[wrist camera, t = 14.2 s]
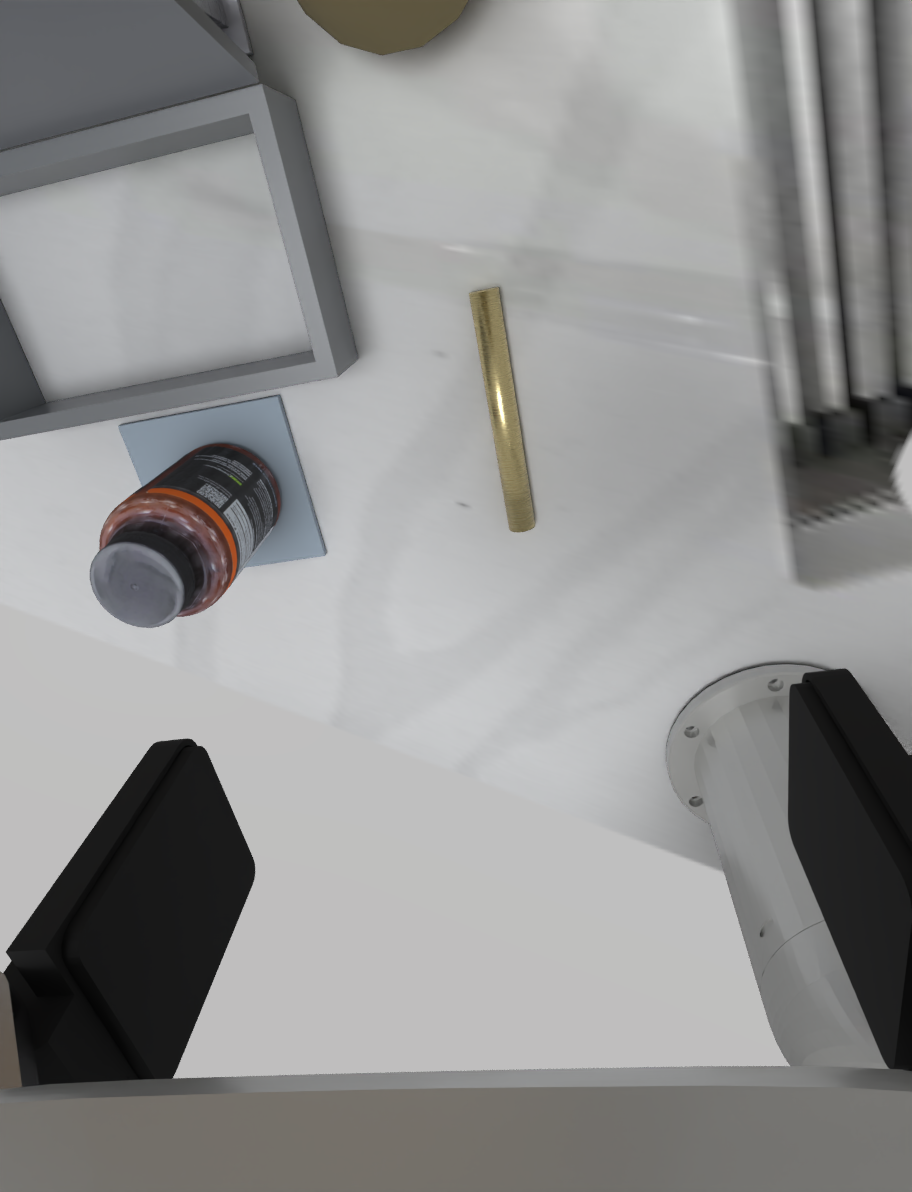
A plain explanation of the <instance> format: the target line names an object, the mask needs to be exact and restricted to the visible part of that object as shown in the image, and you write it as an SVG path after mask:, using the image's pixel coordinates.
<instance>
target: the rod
mask: <svg viewBox="0 0 912 1192" xmlns="http://www.w3.org/2000/svg"><path fill="white" fill-rule="evenodd" d="M469 297H470V303H471V308H472V314H473V320H474V326H475V332H476V338H477V343H478V349H479V355H480V361H481V367H482V372H483V378H484V384H485V390H486V396H487V401H488V407H489V413H490V419H491V425H492V431H493V436H494V442H495V448H496V454H497V460H498V465H499V471H500V477H501V483H502V489H503V494H504V500H505V506H506V512H507V518H508V523H509V529H510V531H512V532H524V531H528V530H531V529H532V528H534V527H535V520H534V514H533V507H532V501H531V494H530V488H529V481H528V475H527V468H526V462H525V455H524V449H523V443H522V436H521V430H520V423H519V417H518V410H517V404H516V397H515V391H514V384H513V378H512V371H511V365H510V359H509V352H508V346H507V339H506V333H505V326H504V320H503V313H502V307H501V300H500V294H499V287H495V288H490V289H485V290H480V291H475V292H471V293H469Z"/></svg>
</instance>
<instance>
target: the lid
mask: <svg viewBox="0 0 912 1192" xmlns="http://www.w3.org/2000/svg"><path fill="white" fill-rule="evenodd" d="M255 83H259V79H258V74H257V70H256V65H255V63H254V62H253V61H252V60H251V59H250V58H249V57H248V56H247V55H246V54H245V53H244V52H243V51H242V50H241V49H240V48H239V47H238V46H237V45H236V44H235V43H234V42H233V41H232V40H231V39H230V38H229V37H228V36H227V35H226V34H225V33H224V32H223V31H222V30H221V29H220V28H219V27H218V26H217V25H216V24H215V23H214V22H213V21H212V20H211V19H210V18H209V17H208V16H207V14H206V13H205V12H204V11H203V10H202V9H201V8H200V7H199V6H198V5H197V4H196V3H195V2H194V1H193V0H0V150H3V149H7V148H11V147H14V146H18V145H22V144H26V143H30V142H33V141H37V140H41V139H45V138H49V137H53V136H56V135H60V134H64V133H68V132H72V131H75V130H79V129H83V128H87V127H91V126H95V125H98V124H102V123H106V122H110V121H114V120H117V119H121V118H125V117H129V116H133V115H137V114H140V113H144V112H148V111H152V110H156V109H159V108H163V107H167V106H171V105H175V104H179V103H182V102H186V101H190V100H194V99H198V98H201V97H205V96H209V95H213V94H217V93H221V92H224V91H228V90H232V89H236V88H240V87H243V86H247V85H251V84H255Z"/></svg>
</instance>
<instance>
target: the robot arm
mask: <svg viewBox="0 0 912 1192" xmlns="http://www.w3.org/2000/svg"><path fill="white" fill-rule="evenodd" d="M666 763H667V768H668V773H669V777H670V780H671V783H672V786H673V789H674V791H675V793H676V794H677V796H678V797H679V799H680V800H681V802H682V803H683V804H684V805H685V806H686V807H687V808H688V809H689V810H690V811H691V812H692V813H693V814H694V815H695V816H697V817H699V818H700V819H702V820H703V821H705V822H706V823H708V824H710V826H711V830H712V833H713V836H714V840H715V843H716V846H717V850H718V853H719V857H720V860H721V863H722V867H723V870H724V873H725V877H726V880H727V884H728V887H729V890H730V894H731V897H732V900H733V904H734V907H735V910H736V914H737V917H738V921H739V924H740V927H741V931H742V934H743V937H744V941H745V944H746V947H747V951H748V954H749V957H750V961H751V964H752V968H753V971H754V974H755V978H756V981H757V985H758V988H759V991H760V995H761V998H762V1001H763V1005H764V1008H765V1011H766V1015H767V1017H768V1021H769V1024H770V1027H771V1029H772V1032H773V1035H774V1037H775V1040H776V1042H777V1044H778V1046H779V1048H780V1050H781V1052H782V1054H783V1055H784V1057H785V1058H786V1060H787V1062H788V1063H789V1065H790V1066H740V1067H739V1066H732V1067H731V1066H716V1067H715V1066H704V1067H703V1066H693V1067H642V1068H641V1067H640V1068H588V1069H587V1068H586V1069H585V1068H583V1069H533V1070H531V1069H528V1070H483V1071H482V1070H481V1071H441V1072H440V1071H439V1072H397V1073H395V1072H394V1073H356V1074H319V1075H318V1074H315V1075H279V1076H246V1077H214V1078H213V1077H212V1078H181V1079H180V1078H178V1079H172V1078H173V1076H174V1074H175V1072H176V1070H177V1068H178V1065H179V1062H180V1060H181V1057H182V1055H183V1053H184V1051H185V1048H186V1046H187V1043H188V1041H189V1038H190V1036H191V1033H192V1031H193V1029H194V1026H195V1023H196V1021H197V1019H198V1016H199V1014H200V1011H201V1009H202V1007H203V1004H204V1002H205V999H206V997H207V994H208V992H209V990H210V987H211V985H212V982H213V980H214V977H215V975H216V972H217V970H218V968H219V965H220V963H221V960H222V958H223V955H224V953H225V950H226V948H227V945H228V943H229V941H230V938H231V936H232V933H233V931H234V928H235V926H236V924H237V921H238V919H239V916H240V914H241V911H242V909H243V907H244V904H245V902H246V899H247V897H248V894H249V892H250V889H251V887H252V885H253V882H254V877H255V863H254V860H253V857H252V855H251V852H250V850H249V848H248V845H247V843H246V841H245V839H244V836H243V834H242V831H241V829H240V827H239V825H238V822H237V820H236V818H235V815H234V813H233V811H232V808H231V806H230V804H229V801H228V799H227V797H226V795H225V792H224V790H223V788H222V785H221V783H220V781H219V778H218V776H217V774H216V772H215V769H214V767H213V765H212V762H211V760H210V758H209V755H208V753H207V751H206V750H205V748H203V747H202V746H197V745H196V743H195V742H194V741H193V740H192V739H178V740H170V741H160V742H156V743H154V744H153V745H152V746H151V747H150V748H149V750H148V751H147V753H146V754H145V755H144V757H143V758H142V760H141V761H140V763H139V764H138V765H137V767H136V768H135V770H134V771H133V772H132V774H131V776H130V777H129V778H128V780H127V781H126V782H125V784H124V785H123V787H122V788H121V789H120V791H119V792H118V794H117V795H116V797H115V798H114V800H113V801H112V802H111V804H110V805H109V806H108V808H107V809H106V811H105V812H104V814H103V815H102V816H101V818H100V819H99V821H98V822H97V824H96V825H95V826H94V828H93V829H92V831H91V832H90V833H89V835H88V836H87V838H86V839H85V840H84V842H83V843H82V845H81V846H80V848H79V849H78V850H77V852H76V853H75V855H74V856H73V857H72V859H71V860H70V862H69V863H68V865H67V866H66V867H65V869H64V870H63V872H62V873H61V875H60V876H59V877H58V879H57V880H56V882H55V883H54V884H53V886H52V887H51V889H50V890H49V892H48V893H47V894H46V896H45V897H44V899H43V900H42V902H41V903H40V904H39V906H38V907H37V909H36V910H35V911H34V913H33V914H32V916H31V917H30V919H29V920H28V921H27V923H26V924H25V925H24V927H23V928H22V930H21V931H20V932H19V934H18V935H17V937H16V938H15V940H14V941H13V942H12V944H11V945H10V947H9V948H8V950H7V951H6V953H7V954H8V956H9V957H10V959H11V960H12V961H11V963H10V964H9V966H8V967H7V969H6V970H5V971H4V973H2V972H0V1192H912V755H908V754H907V753H906V751H905V750H904V748H903V747H902V745H901V744H900V743H899V741H898V740H897V738H896V737H895V735H894V734H893V732H892V731H891V730H890V728H889V727H888V725H887V724H886V722H885V721H884V720H883V718H882V717H881V715H880V714H879V712H878V711H877V710H876V708H875V707H874V705H873V704H872V702H871V701H870V700H869V698H868V697H867V695H866V694H865V692H864V691H863V690H862V688H861V687H860V685H859V684H858V682H857V681H856V680H855V678H854V677H853V675H852V674H851V673H850V672H849V671H848V670H847V669H835V670H823V669H819V668H815V667H811V666H804V665H793V664H781V665H767V666H762V667H757V668H753V669H748V670H744V671H741V672H739V673H736V674H734V675H731V676H728V677H726V678H724V679H722V680H720V681H718V682H717V683H715V684H713V685H711V686H710V687H708V688H706V689H705V690H704V691H703V692H701V693H700V694H699V695H698V696H697V697H695V698H694V699H693V700H692V701H691V702H690V703H689V704H688V705H687V706H686V708H685V709H684V710H683V711H682V712H681V713H680V715H679V716H678V718H677V720H676V722H675V724H674V725H673V727H672V729H671V732H670V735H669V738H668V742H667V746H666Z"/></svg>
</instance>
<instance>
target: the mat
mask: <svg viewBox="0 0 912 1192" xmlns="http://www.w3.org/2000/svg"><path fill="white" fill-rule="evenodd" d="M118 427H119V430H120V432H121V435H122V437H123V440H124V442H125V445H126V447H127V450H128V452H129V455H130V457H131V460H132V462H133V465H134V467H135V470H136V472H137V475H138V477H139V480H140V482H141V485H142V487H143V486H144V485H146V484H147V483H148V482H150V481H151V480H152V479H154V478H155V477H156V476H158V475H159V474H161V473H162V472H163V471H164V470H166V469H167V468H169V467H170V466H171V465H173V464H174V463H175V462H177V461H178V460H179V459H180V458H182V457H183V456H184V455H186V454H187V453H189V452H191V451H193V450H194V449H197V448H199V447H202V446H205V445H209V444H229V445H234V446H236V447H240V448H242V449H244V450H246V451H248V452H250V453H252V454H253V455H254V456H256V457H257V458H258V459H260V460H261V461H262V462H263V463H264V465H265V466H266V467H267V468H268V469H269V470H270V471H271V473H272V475H273V476H274V478H275V480H276V483H277V485H278V489H279V492H280V498H281V508H280V514H279V518H278V520H277V522H276V525H275V526H274V528H273V530H272V531H271V533H270V534H269V536H268V537H267V538H266V540H265V541H264V542H263V543H262V545H261V546H260V547H259V549H258V550H257V551H256V553H255V554H254V556H252V558H251V559H250V560H249V562H248V563H247V564H246V566H245V567H252V566H259V565H265V564H272V563H279V562H286V561H293V560H300V559H306V558H313V557H320V556H325V555H326V549H325V546H324V542H323V539H322V536H321V532H320V529H319V526H318V522H317V519H316V516H315V512H314V509H313V505H312V502H311V499H310V495H309V492H308V489H307V485H306V482H305V478H304V475H303V472H302V468H301V465H300V462H299V458H298V455H297V451H296V448H295V445H294V441H293V438H292V435H291V431H290V428H289V425H288V421H287V418H286V414H285V411H284V408H283V404H282V401H281V398H280V395H276V396H271V397H266V398H260V399H255V400H249V401H244V402H239V403H233V404H228V405H223V406H217V407H212V408H206V409H201V410H196V411H190V412H185V413H180V414H174V415H169V416H163V417H158V418H153V419H147V420H142V421H137V422H131V423H126V424H121V425H119V426H118ZM245 567H244V568H245Z"/></svg>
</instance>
